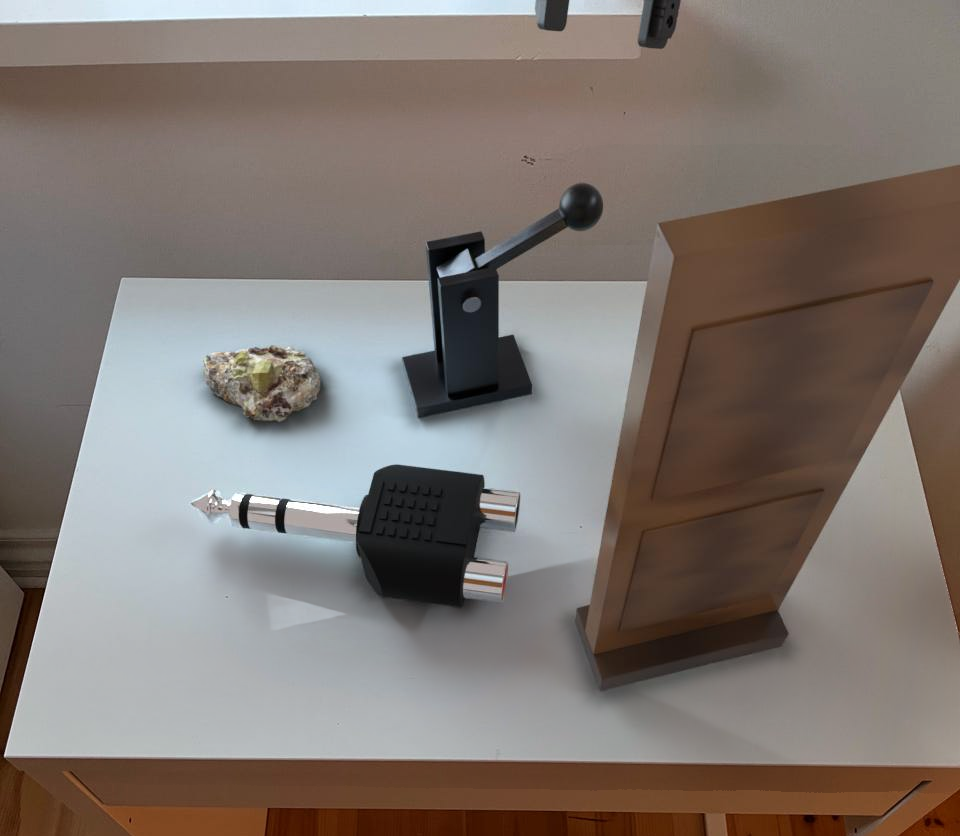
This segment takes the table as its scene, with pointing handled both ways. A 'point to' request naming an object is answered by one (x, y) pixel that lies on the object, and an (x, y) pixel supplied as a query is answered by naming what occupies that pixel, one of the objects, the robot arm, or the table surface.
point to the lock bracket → (464, 338)
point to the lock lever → (535, 231)
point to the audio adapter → (397, 530)
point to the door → (757, 409)
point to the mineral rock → (263, 380)
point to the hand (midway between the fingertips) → (598, 38)
